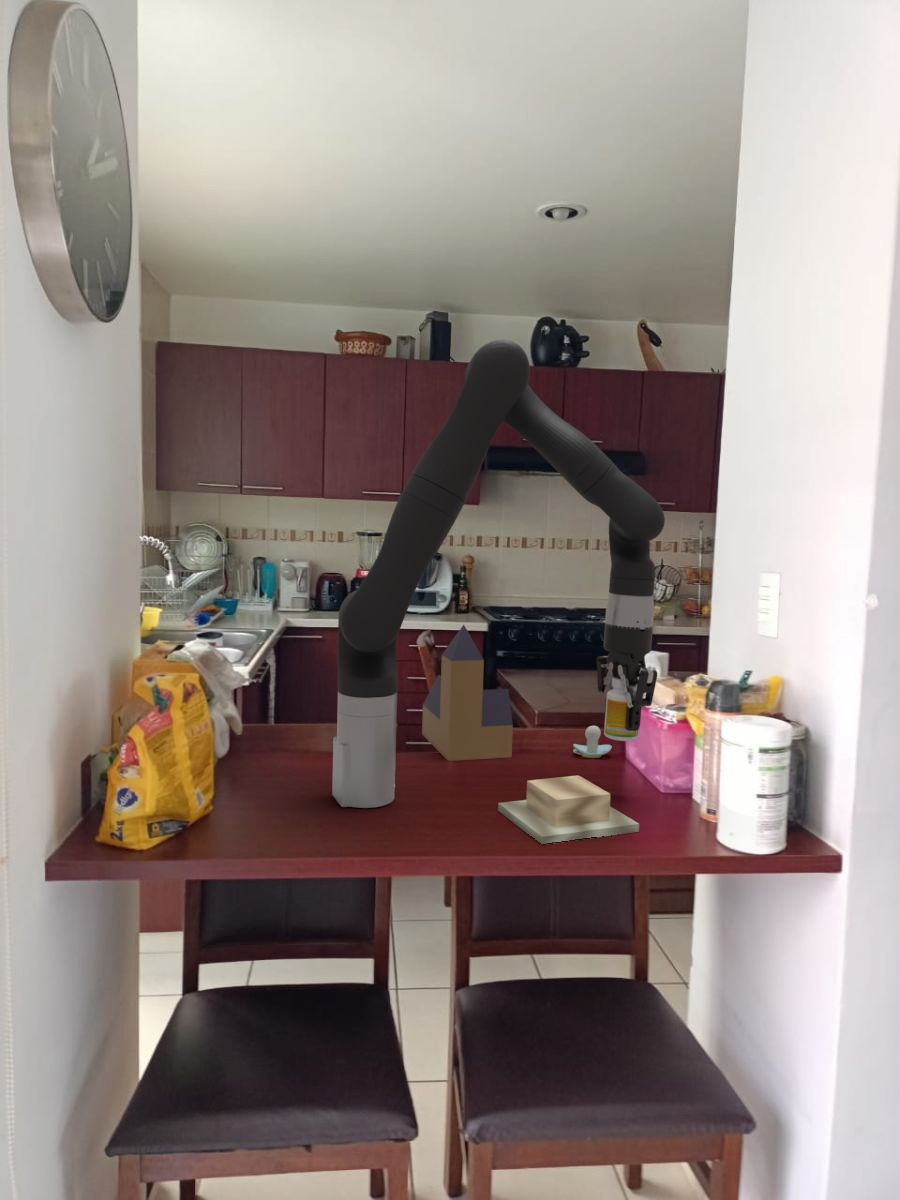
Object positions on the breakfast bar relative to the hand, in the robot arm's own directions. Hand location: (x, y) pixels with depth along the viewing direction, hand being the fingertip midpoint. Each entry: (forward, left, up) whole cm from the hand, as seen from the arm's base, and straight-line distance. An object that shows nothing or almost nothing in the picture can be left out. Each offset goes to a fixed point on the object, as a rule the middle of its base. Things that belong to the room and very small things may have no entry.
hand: (621, 725), depth 134 cm
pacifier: (+9, +22, -12) cm, 27 cm away
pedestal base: (-14, -7, -12) cm, 20 cm away
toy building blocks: (-12, +35, -12) cm, 39 cm away
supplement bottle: (0, 0, -2) cm, 2 cm away
